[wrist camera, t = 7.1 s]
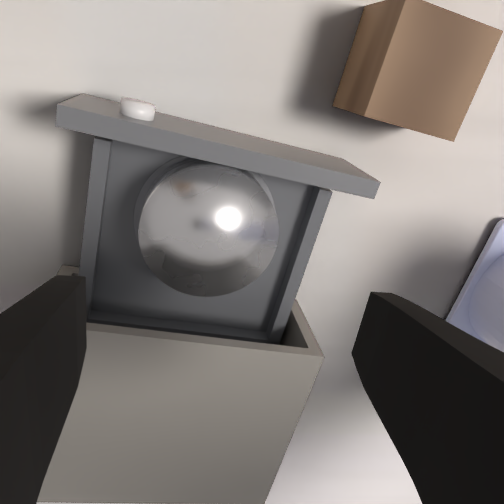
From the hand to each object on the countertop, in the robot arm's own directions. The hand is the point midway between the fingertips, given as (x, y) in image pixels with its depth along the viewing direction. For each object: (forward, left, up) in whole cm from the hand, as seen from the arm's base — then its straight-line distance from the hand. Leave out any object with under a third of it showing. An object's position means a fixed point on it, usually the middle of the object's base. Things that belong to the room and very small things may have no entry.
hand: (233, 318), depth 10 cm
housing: (0, +10, -10) cm, 14 cm away
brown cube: (-7, -7, -10) cm, 14 cm away
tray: (0, +1, -10) cm, 10 cm away
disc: (0, +1, -8) cm, 8 cm away
